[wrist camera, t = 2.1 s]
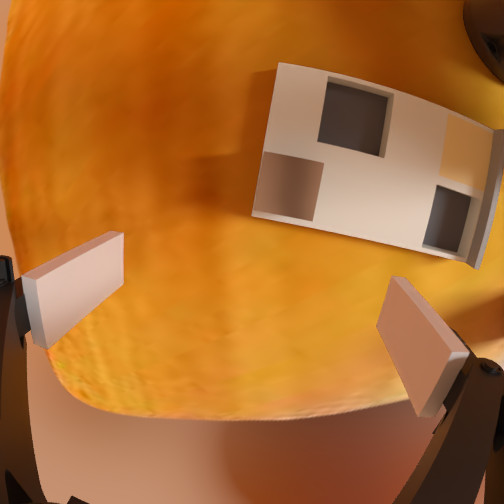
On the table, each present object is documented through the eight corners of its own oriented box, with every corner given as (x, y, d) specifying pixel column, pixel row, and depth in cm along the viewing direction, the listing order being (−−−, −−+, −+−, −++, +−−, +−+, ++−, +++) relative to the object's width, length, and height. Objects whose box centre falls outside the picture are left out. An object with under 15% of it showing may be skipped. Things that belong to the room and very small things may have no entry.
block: (258, 202, 31) (253, 210, 26) (267, 152, 30) (264, 151, 25) (308, 212, 31) (312, 221, 26) (318, 162, 29) (324, 163, 25)
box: (253, 211, 34) (249, 219, 30) (279, 68, 29) (278, 55, 25) (461, 257, 33) (478, 269, 28) (487, 133, 28) (508, 131, 24)
